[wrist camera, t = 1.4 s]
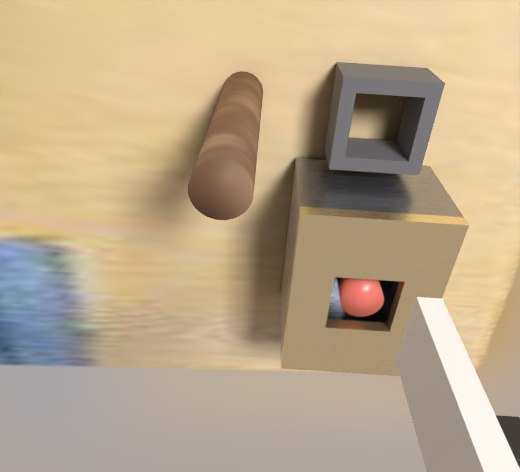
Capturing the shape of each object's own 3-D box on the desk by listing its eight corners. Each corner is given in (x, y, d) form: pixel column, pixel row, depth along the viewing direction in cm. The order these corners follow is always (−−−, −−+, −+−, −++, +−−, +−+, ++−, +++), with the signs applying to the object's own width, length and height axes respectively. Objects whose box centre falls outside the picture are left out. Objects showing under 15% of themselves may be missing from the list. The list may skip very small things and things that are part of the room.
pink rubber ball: (333, 290, 37) (337, 315, 35) (339, 258, 35) (344, 283, 33) (372, 292, 37) (379, 318, 35) (380, 261, 35) (388, 286, 33)
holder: (324, 147, 36) (329, 169, 33) (336, 62, 33) (343, 76, 29) (405, 153, 36) (419, 175, 33) (427, 68, 33) (444, 83, 29)
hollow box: (280, 296, 45) (281, 368, 38) (295, 157, 37) (300, 214, 29) (390, 303, 45) (412, 376, 38) (429, 166, 37) (469, 225, 29)
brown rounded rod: (222, 110, 35) (188, 217, 21) (223, 70, 33) (187, 159, 20) (261, 113, 35) (251, 221, 21) (264, 73, 33) (254, 163, 20)
